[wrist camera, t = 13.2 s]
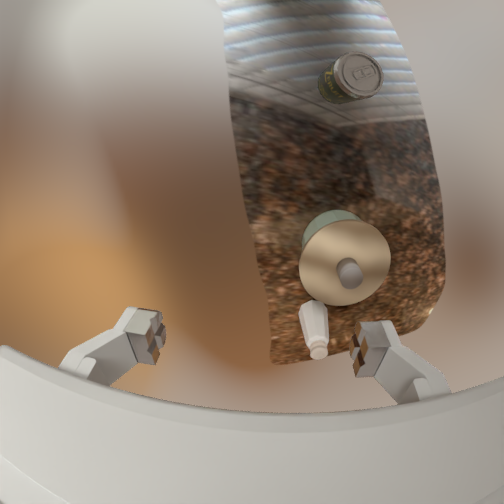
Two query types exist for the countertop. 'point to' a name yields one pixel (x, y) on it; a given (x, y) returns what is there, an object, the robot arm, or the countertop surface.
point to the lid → (344, 262)
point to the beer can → (351, 78)
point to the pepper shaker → (315, 328)
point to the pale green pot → (325, 222)
